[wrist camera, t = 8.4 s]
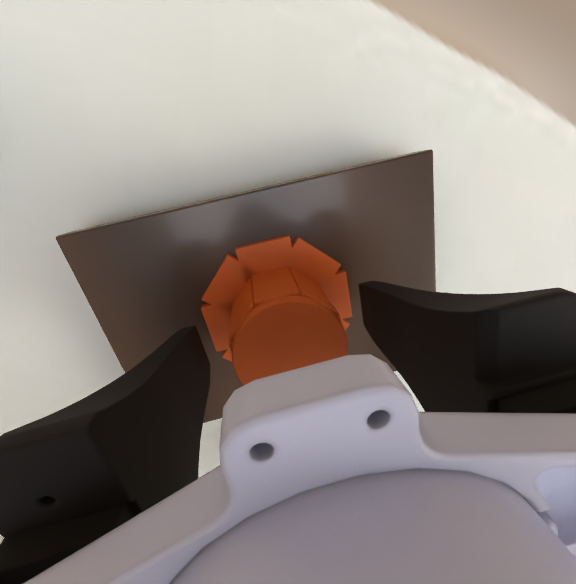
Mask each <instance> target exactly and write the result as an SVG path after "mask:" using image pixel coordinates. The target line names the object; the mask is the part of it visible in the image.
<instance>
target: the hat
mask: <svg viewBox="0 0 576 584" xmlns="http://www.w3.org/2000/svg"><path fill="white" fill-rule="evenodd" d="M235 251H236V254H237V258H236V257H235V256H233V255H231V254H229V253H228V254H227V256H226V257H225V259H224V261H223V262H222V264H221V266H220V267H219V269H218V271H217V273H216V274H215V276H214V278H213V279H212V281H211V283H210V285H209V286H208V288H207V290H206V291H205V293H204V295H203V297H202V300H203V301H205V302H207V304H203V305H202V306H201V310H202V313H203V316H204V319H205V321H206V324H207V327H208V330H209V332H210V335H211V338H212V341H213V343H214V346H215V349H216V351H217V352H218V351H222V350H224V351H223V354H222V357H223V358H225V359H227V360H229V361H231V362H232V364H233V368H234V371H235V373H236V375H237V377H238V379H239V380H240V382H241V383H242V384H243V385H246V384H248V383H250V382H252V381H254V380H256V379H260V378H264V377H268V376H272V375H275V374H279V373H283V372H287V371H290V370H294V369H298V368H302V367H305V366H309V365H313V364H317V363H321V362H324V361H328V360H332V359H336V358H339V357H343V356H347V350H348V343H347V336H346V332H345V330H346V329H347V328H348V326H349V325H350V323H349V322H348V320H346V319H345V318H349V317H352V311H351V304H350V297H349V290H348V283H347V277H346V272H345V271H344V270H339V271H338V269H339V268H340V266H341V264H340V263H339V262H337V261H336V260H334V259H333V258H331V257H329V256H328V255H326V254H325V253H323V252H322V251H320V250H318V249H317V248H315V247H314V246H312V245H311V244H309V243H307V242H306V241H304V240H303V239H301V238H300V237H298V236H297V237H296V239H295V240H294V242H293V243H292V244H291V240H290V236H289V235H285V236H281V237H277V238H273V239H269V240H264V241H260V242H256V243H252V244H248V245H244V246H240V247H236V249H235Z"/></svg>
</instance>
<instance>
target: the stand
mask: <svg viewBox="0 0 576 584" xmlns="http://www.w3.org/2000/svg"><path fill="white" fill-rule="evenodd" d="M285 235H289V236H290V240H291V244H292V243H293V242H294V240H295V239H296V237H297V236H298V237H300V238H301V239H303V240H304V241H306V242H307V243H309V244H311V245H312V246H314V247H315V248H317V249H318V250H320V251H322V252H323V253H325V254H326V255H328V256H329V257H331V258H333V259H334V260H336V261H337V262H339V263H340V264H341V266H340V268H339V269H338V271H339V270H344V271H345V272H346V277H347V283H348V290H349V297H350V304H351V311H352V317H349V318H345V319H346V320H348V322H349V323H350V325H349V326H348V328H347V329H346V330H345V332H346V336H347V343H348V350H347V355H364V354H371V355H373V356H374V357H376V358H378V359H380V360H382V361H384V362H386V363H387V364H388V365H389V367H390V368H391V369H392V371H397V370H396V368H395V367H394V366H393V365H392V364H391V362H390V361H389V360H388V359H387V358H386V356H385V355H384V354H383V353H382V351H381V350H380V349H379V348H378V347H377V345H376V344H375V343H374V341H373V340H372V338H371V337H370V335H369V333H368V332H367V330H366V328H365V326H364V324H363V316H362V308H361V301H360V293H359V285H358V284H360V283H364V282H368V281H380V282H386V283H390V284H395V285H399V286H404V287H409V288H414V289H419V290H425V291H432V292H436V285H435V238H434V191H433V151H432V150H424V151H418V152H413V153H409V154H405V155H400V156H396V157H392V158H387V159H383V160H379V161H374V162H370V163H366V164H361V165H357V166H353V167H349V168H344V169H340V170H336V171H331V172H327V173H323V174H318V175H314V176H310V177H305V178H301V179H297V180H292V181H288V182H284V183H279V184H275V185H271V186H266V187H262V188H258V189H253V190H249V191H245V192H241V193H236V194H232V195H228V196H223V197H219V198H215V199H210V200H206V201H202V202H197V203H193V204H189V205H184V206H180V207H176V208H171V209H167V210H163V211H158V212H154V213H150V214H145V215H141V216H137V217H133V218H128V219H124V220H120V221H115V222H111V223H107V224H102V225H98V226H94V227H89V228H85V229H81V230H76V231H72V232H69V233H65V234H62V235H59V236H57V237H56V240H57V242H58V244H59V246H60V248H61V250H62V252H63V253H64V255H65V257H66V259H67V261H68V263H69V265H70V267H71V269H72V271H73V273H74V275H75V277H76V279H77V281H78V282H79V284H80V286H81V288H82V290H83V292H84V294H85V296H86V298H87V300H88V302H89V304H90V306H91V308H92V310H93V311H94V313H95V315H96V317H97V319H98V321H99V323H100V325H101V327H102V329H103V331H104V333H105V335H106V337H107V339H108V341H109V342H110V344H111V346H112V348H113V350H114V352H115V354H116V356H117V358H118V360H119V362H120V364H121V366H122V368H123V370H124V371H125V373H126V372H128V371H129V370H131V369H132V368H133V367H135V366H136V365H137V364H139V363H140V362H141V361H142V360H144V359H145V358H146V357H147V356H149V355H150V354H151V353H152V352H153V351H155V350H156V349H157V348H158V347H159V346H160V345H162V344H163V343H164V342H165V341H166V340H167V339H169V338H170V337H171V336H172V335H173V334H175V333H176V332H177V331H179V330H180V329H183V328H187V327H191V326H195V325H196V327H197V330H198V333H199V335H200V338H201V341H202V343H203V346H204V349H205V351H206V354H207V357H208V359H209V362H210V365H211V366H210V387H209V393H208V399H207V404H206V409H205V415H204V420H203V423H205V422H208V421H212V420H216V419H219V418H222V415H223V407H224V405H225V404H226V402H227V401H228V399H229V398H230V396H231V395H232V393H233V392H234V390H236V389H238V388H240V387H242V386H244V385H243V384H242V383H241V382H240V380H239V379H238V377H237V375H236V373H235V371H234V368H233V364H232V362H231V361H229V360H227V359H225V358H223V357H222V354H223V351H224V350H222V351H218V352H217V351H216V349H215V346H214V343H213V341H212V338H211V335H210V332H209V330H208V327H207V324H206V321H205V319H204V316H203V313H202V310H201V306H202V305H203V304H207V302H205V301H203V300H202V297H203V295H204V293H205V291H206V290H207V288H208V286H209V285H210V283H211V281H212V279H213V278H214V276H215V274H216V273H217V271H218V269H219V267H220V266H221V264H222V262H223V261H224V259H225V257H226V256H227V254H228V253H229V254H231V255H233V256H235V257H236V258H237V254H236V251H235V249H236V247H240V246H244V245H248V244H252V243H256V242H260V241H264V240H269V239H273V238H277V237H281V236H285Z"/></svg>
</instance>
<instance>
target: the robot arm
mask: <svg viewBox="0 0 576 584" xmlns="http://www.w3.org/2000/svg"><path fill="white" fill-rule="evenodd" d="M358 285H359V293H360V301H361V308H362V316H363V324H364V326H365V328H366V330H367V332H368V333H369V335H370V337H371V338H372V340H373V341H374V343H375V344H376V345H377V347H378V348H379V349H380V350H381V351H382V353H383V354H384V355H385V356H386V358H387V359H388V360H389V361H390V362H391V364H392V365H393V366H394V367H395V368H396V370H397V371H398V372H399V373H400V374H401V376H402V377H403V378H404V380H405V381H406V382H407V384H408V385H409V387H410V388H411V390H412V391H413V393H414V394H415V396H416V397H417V399H418V401H419V402H420V404H421V405H422V407H423V409H424V410H425V412H418V409H417V407H416V405H415V402H414V400H413V398H412V395H411V394H410V393H409V391H408V390H407V389H406V387H405V386H404V385H403V384H402V382H401V381H400V380H399V378H398V377H397V376H396V374H395V373H394V372H393V371H392V369H391V368H390V367H389V365H388V364H387V363H386V362H384V361H382V360H380V359H378V358H376V357H374V356H373V355H371V354H364V355H347V356H343V357H339V358H336V359H332V360H328V361H324V362H321V363H317V364H313V365H309V366H305V367H302V368H298V369H294V370H290V371H287V372H283V373H279V374H275V375H272V376H268V377H264V378H260V379H256V380H254V381H252V382H250V383H248V384H246V385H244V386H242V387H240V388H238V389H236V390H234V392H233V393H232V395H231V396H230V398H229V399H228V401H227V402H226V404H225V405H224V407H223V415H222V427H221V438H220V466H219V467H217V468H215V469H214V470H212V471H210V472H209V473H207V474H205V475H204V476H202V477H200V478H199V479H198V464H199V450H200V438H201V431H202V425H203V420H204V415H205V409H206V404H207V399H208V393H209V387H210V366H211V365H210V362H209V359H208V357H207V354H206V351H205V349H204V346H203V343H202V341H201V338H200V335H199V333H198V330H197V327H196V325H195V326H191V327H187V328H183V329H180V330H179V331H177V332H176V333H175V334H173V335H172V336H171V337H170V338H169V339H167V340H166V341H165V342H164V343H163V344H162V345H160V346H159V347H158V348H157V349H156V350H155V351H153V352H152V353H151V354H150V355H149V356H147V357H146V358H145V359H144V360H142V361H141V362H140V363H139V364H137V365H136V366H135V367H133V368H132V369H131V370H129V371H128V372H126V373H125V374H124V375H122V376H121V377H119V378H118V379H116V380H115V381H113V382H111V383H110V384H108V385H106V386H105V387H103V388H101V389H99V390H98V391H96V392H94V393H93V394H91V395H89V396H87V397H86V398H84V399H82V400H80V401H78V402H76V403H74V404H72V405H70V406H68V407H66V408H64V409H61V410H59V411H57V412H55V413H53V414H51V415H48V416H46V417H44V418H41V419H39V420H37V421H34V422H32V423H29V424H27V425H24V426H22V427H19V428H17V429H15V430H12V431H9V432H7V433H4V434H3V435H2V436H0V534H1V535H2V536H3V537H5V538H4V540H3V541H2V543H1V544H0V584H576V293H573V292H570V291H568V290H565V289H562V288H551V289H543V290H535V291H527V292H518V293H504V294H452V293H440V292H432V291H425V290H419V289H414V288H409V287H404V286H399V285H395V284H390V283H386V282H380V281H368V282H364V283H360V284H358Z"/></svg>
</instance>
